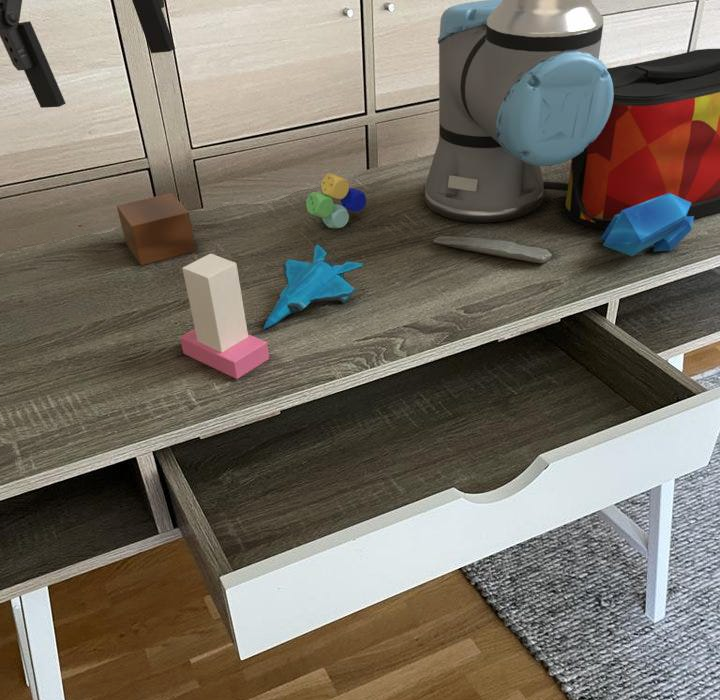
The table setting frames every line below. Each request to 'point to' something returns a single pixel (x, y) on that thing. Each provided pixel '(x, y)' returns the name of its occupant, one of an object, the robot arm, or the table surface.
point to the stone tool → (496, 248)
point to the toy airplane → (311, 284)
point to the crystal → (650, 225)
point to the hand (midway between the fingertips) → (111, 77)
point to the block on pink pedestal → (219, 319)
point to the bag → (653, 140)
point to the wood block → (157, 228)
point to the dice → (327, 209)
